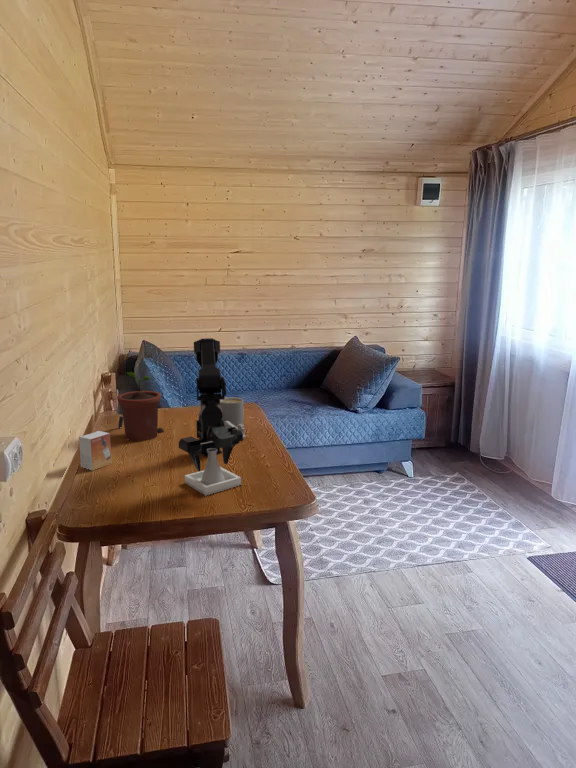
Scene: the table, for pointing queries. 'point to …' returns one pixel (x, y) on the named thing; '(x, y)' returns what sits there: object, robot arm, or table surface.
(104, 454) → the small box
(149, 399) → the potted plant
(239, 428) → the grey tape dispenser
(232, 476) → the shaker caddy
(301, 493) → the table surface
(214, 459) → the flask
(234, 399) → the coffee mug
